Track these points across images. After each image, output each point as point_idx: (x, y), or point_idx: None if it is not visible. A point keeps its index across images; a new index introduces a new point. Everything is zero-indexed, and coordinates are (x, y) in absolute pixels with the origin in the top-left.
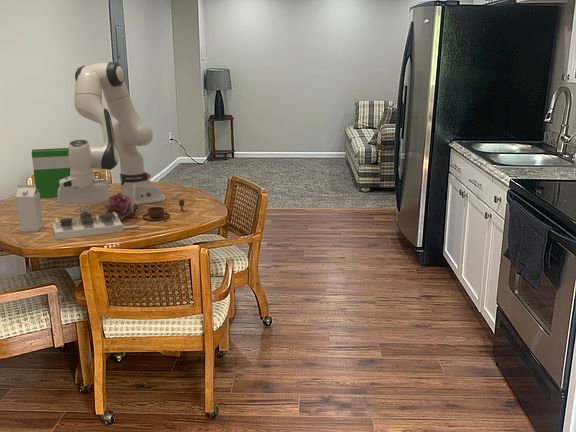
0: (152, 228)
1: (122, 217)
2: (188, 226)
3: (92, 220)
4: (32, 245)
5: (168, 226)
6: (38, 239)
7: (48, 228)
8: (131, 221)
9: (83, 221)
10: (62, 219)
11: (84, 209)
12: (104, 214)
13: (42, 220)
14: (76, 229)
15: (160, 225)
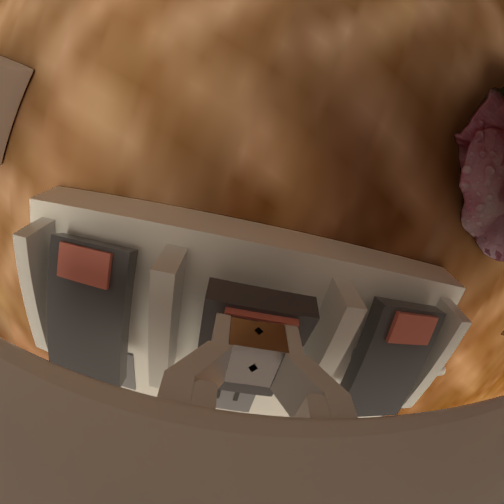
0: (452, 389)
1: (493, 238)
2: (495, 395)
3: (265, 395)
4: (14, 342)
5: (483, 383)
6: (14, 292)
7: (45, 115)
8: (490, 268)
9: None
10: (60, 365)
11: (243, 380)
12: (398, 342)
13: (3, 74)
14: (153, 391)
15: (485, 368)
